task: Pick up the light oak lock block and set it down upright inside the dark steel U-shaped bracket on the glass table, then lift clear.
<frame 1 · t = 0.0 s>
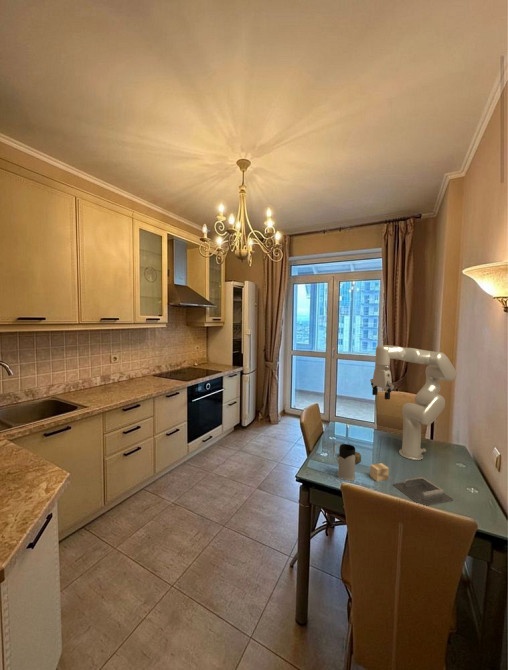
hand: (380, 397, 154), 37 cm above the table, tool pointing down, fingers open, 9 cm apart
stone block: (349, 459, 155), on the table
oak lock block: (379, 477, 136), on the table
cradle: (421, 492, 125), on the table
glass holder: (342, 473, 140), on the table
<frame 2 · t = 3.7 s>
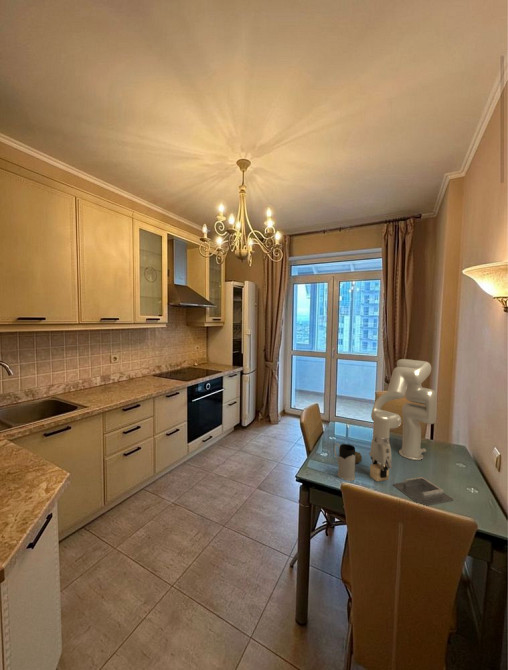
hand: (379, 473, 136), 2 cm above the table, tool pointing down, fingers closed on oak lock block, 5 cm apart
oak lock block: (379, 477, 136), on the table, touching gripper
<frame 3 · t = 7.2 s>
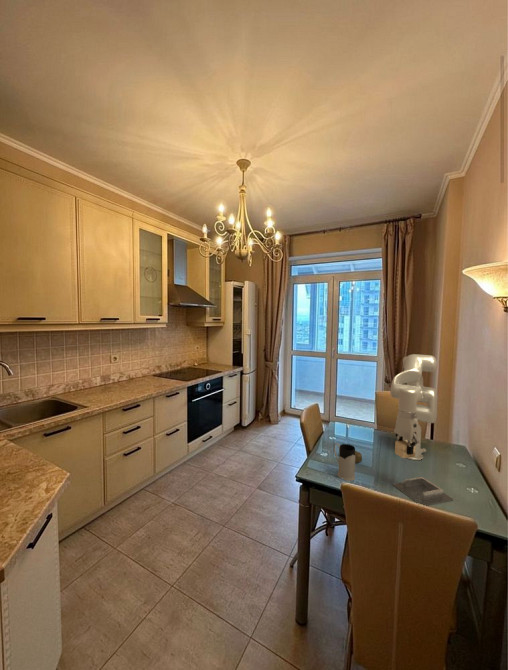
hand: (405, 450, 129), 17 cm above the table, tool pointing down, fingers closed on oak lock block, 5 cm apart
oak lock block: (404, 455, 129), point 15 cm above the table, touching gripper
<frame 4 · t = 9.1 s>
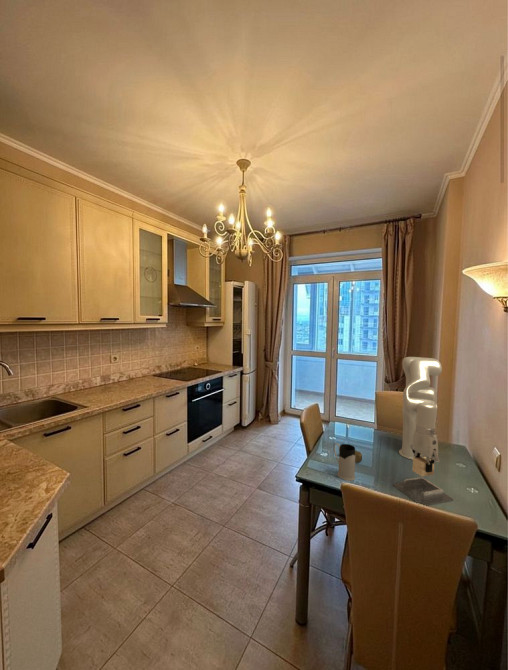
hand: (423, 468, 124), 12 cm above the table, tool pointing down, fingers closed on oak lock block, 5 cm apart
oak lock block: (422, 472, 124), point 10 cm above the table, touching gripper
when the fingers open (4 cm above the table, at t = 10.8 s): oak lock block drops 1 cm, resting on cradle.
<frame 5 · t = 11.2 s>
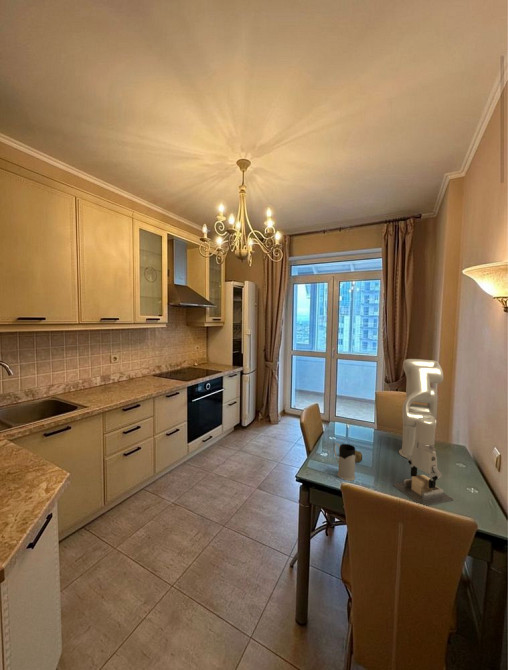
hand: (422, 481, 125), 5 cm above the table, tool pointing down, fingers open, 9 cm apart
oak lock block: (421, 491, 125), point 1 cm above the table, touching cradle
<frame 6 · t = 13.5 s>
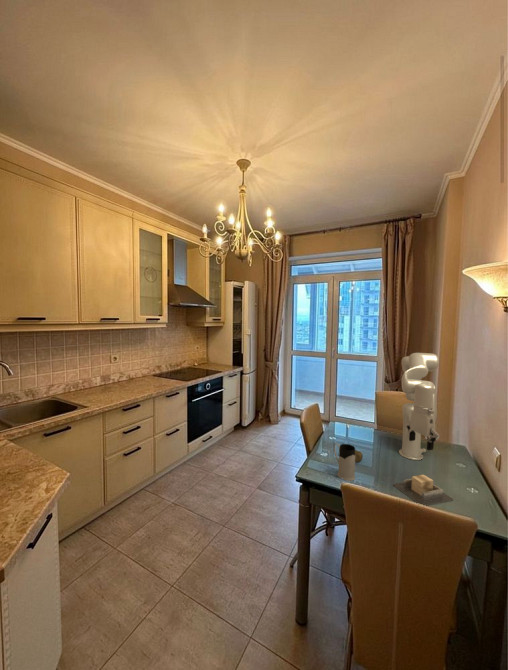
hand: (420, 445, 128), 21 cm above the table, tool pointing down, fingers open, 9 cm apart
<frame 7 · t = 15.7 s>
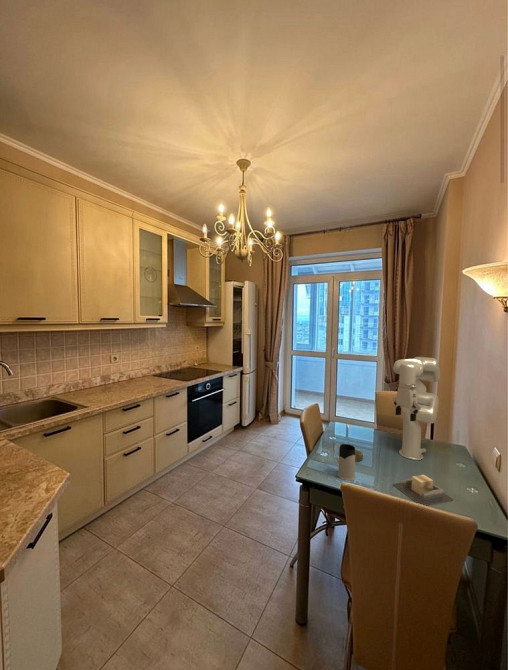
hand: (405, 417, 144), 28 cm above the table, tool pointing down, fingers open, 9 cm apart
at the end: oak lock block 0.5 cm off-centre on the cradle, point 0.6 cm above the cradle's base; oak lock block tilted 0°; the gripper is holding nothing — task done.
